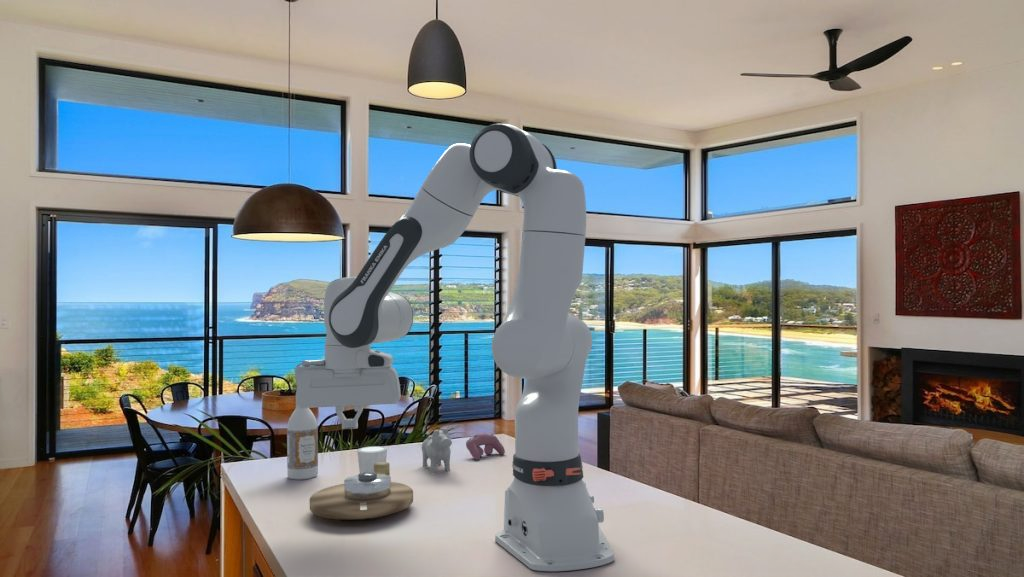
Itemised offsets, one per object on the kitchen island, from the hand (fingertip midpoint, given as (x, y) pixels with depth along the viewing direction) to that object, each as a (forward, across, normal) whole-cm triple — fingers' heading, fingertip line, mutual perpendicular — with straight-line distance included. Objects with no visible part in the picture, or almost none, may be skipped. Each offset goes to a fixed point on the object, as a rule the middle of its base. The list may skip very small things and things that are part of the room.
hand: (349, 428), depth 132 cm
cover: (+13, +3, 0) cm, 14 cm away
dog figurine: (+16, +16, +30) cm, 38 cm away
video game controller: (+17, +29, +43) cm, 54 cm away
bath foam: (+16, -16, +28) cm, 36 cm away
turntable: (+15, +2, 0) cm, 15 cm away
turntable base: (+16, +2, 0) cm, 16 cm away
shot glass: (+16, +1, +24) cm, 29 cm away
